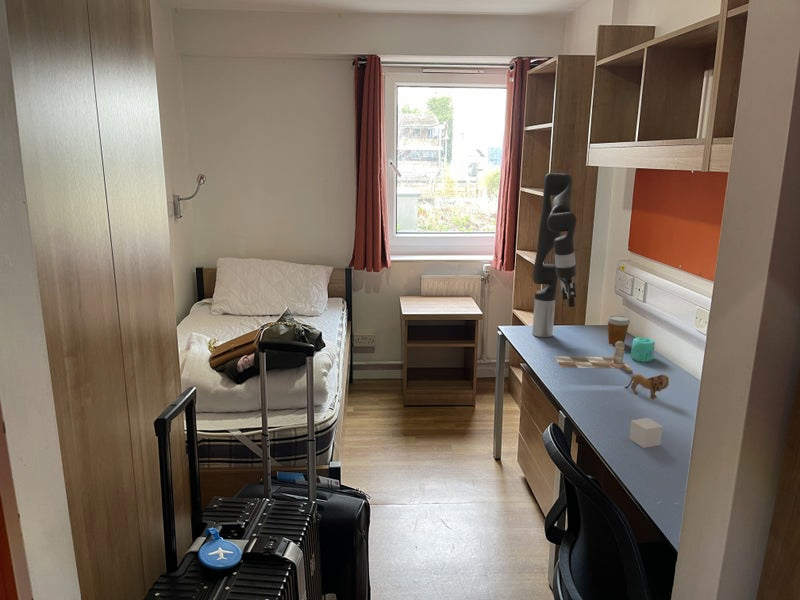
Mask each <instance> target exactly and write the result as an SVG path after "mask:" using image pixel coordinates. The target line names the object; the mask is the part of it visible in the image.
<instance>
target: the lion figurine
mask: <svg viewBox="0 0 800 600" xmlns="http://www.w3.org/2000/svg"><path fill="white" fill-rule="evenodd" d="M669 380H670V377H668V375H666V374H664V373H663V374H659V375H657V376H652V377H649V378H648V377H645V376H643V374H641V373H640V374H638V373H636V374H634V375H633V376H632V378H631V379H630V381H629V384H628V385H626V386H625V387H624V389H628V388H629V387H630V389H631V390H633V394H634V395H638V392H637V387H638V385H640V386H641V387H642V388H644V389H646V390H649V391H650V393H649V394H650V400H652V401H654V400H655V398H657V395H656V392H661V391H662V390H665V389H667V388H668V386H669V384H670V383H669V382H670V381H669Z"/></svg>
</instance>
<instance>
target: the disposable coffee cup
mask: <svg viewBox="0 0 800 600" xmlns="http://www.w3.org/2000/svg"><path fill="white" fill-rule="evenodd" d="M606 321H607V329H608V330H607V331H608V333H607V334H608V336H607V337H608V344H609V345H610V344H612V345H611V346H614V345H615V344H616V342H618V341H622V342H623V343H624V344H625V340H626V338H627V337H626V336H627V333H628V329H629V325H630V323H631V321H630V318H629V317H628V316H625V315H617V314H615V315H614V314H612V315H609V316H608V317H607V319H606Z"/></svg>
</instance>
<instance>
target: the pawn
mask: <svg viewBox="0 0 800 600" xmlns="http://www.w3.org/2000/svg"><path fill="white" fill-rule="evenodd" d="M625 348H626V344H625V342H624V343H623V342H622V341H618V342H616V344H615V346H614V355H613V357H614V361H612V362H611V365H612V366H613V367H617V368H622V367H624V362H625V361H624V354H625ZM623 361H624V362H623Z"/></svg>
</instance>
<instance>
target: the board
mask: <svg viewBox="0 0 800 600" xmlns="http://www.w3.org/2000/svg"><path fill="white" fill-rule="evenodd" d="M553 358H554V359H555V360H556V362H557V363H558V365H559V366H560V368H562V369H621V370H622V371H624V372H625V373H626V374H633V369H632V368H631V367H630V366H629V365H628V364H627V363H626V362H625V361H624V360H623V362H624V367H622V368H617V367H613V366H612V365H611V362H612V361H614V356H559V355H558V356H556V355H555V356H553Z"/></svg>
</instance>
